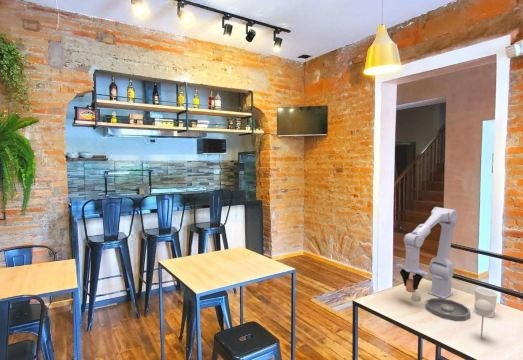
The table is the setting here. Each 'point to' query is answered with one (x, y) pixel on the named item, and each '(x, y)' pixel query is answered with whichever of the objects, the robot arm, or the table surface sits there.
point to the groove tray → (448, 309)
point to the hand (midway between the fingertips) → (410, 287)
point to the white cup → (486, 298)
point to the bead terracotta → (409, 285)
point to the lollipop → (483, 309)
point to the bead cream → (416, 295)
